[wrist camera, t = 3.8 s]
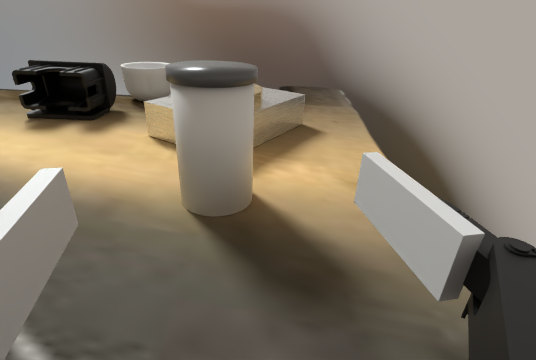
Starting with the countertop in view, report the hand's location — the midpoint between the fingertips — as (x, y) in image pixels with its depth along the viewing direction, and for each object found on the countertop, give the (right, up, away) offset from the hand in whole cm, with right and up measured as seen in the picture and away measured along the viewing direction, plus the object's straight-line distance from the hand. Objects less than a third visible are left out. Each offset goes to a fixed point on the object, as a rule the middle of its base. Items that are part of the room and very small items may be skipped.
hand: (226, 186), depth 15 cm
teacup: (-17, +14, +40) cm, 46 cm away
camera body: (-3, +7, +27) cm, 28 cm away
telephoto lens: (-2, -1, +11) cm, 12 cm away
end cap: (-26, +10, +31) cm, 41 cm away
